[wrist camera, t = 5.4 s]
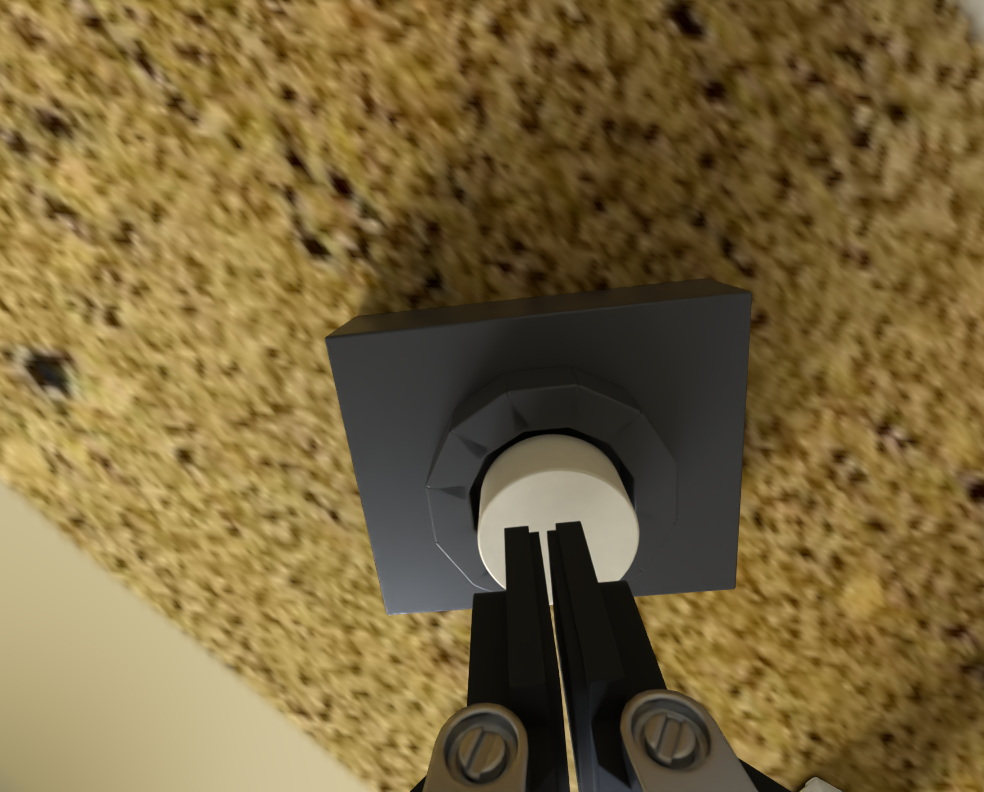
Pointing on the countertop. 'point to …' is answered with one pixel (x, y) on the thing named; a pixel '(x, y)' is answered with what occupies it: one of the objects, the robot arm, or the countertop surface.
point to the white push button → (557, 503)
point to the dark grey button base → (548, 425)
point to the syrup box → (818, 786)
